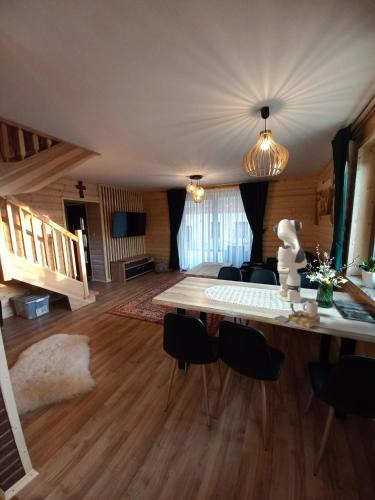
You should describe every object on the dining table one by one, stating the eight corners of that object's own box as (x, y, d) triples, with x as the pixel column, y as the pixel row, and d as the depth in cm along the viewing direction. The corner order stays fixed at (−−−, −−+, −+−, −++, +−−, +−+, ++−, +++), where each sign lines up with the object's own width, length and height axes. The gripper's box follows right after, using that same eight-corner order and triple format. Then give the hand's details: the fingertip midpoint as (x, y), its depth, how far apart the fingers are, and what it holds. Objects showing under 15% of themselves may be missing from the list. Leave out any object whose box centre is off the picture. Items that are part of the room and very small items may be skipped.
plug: (277, 296, 144) (276, 283, 143) (283, 294, 146) (283, 282, 146) (284, 298, 138) (284, 285, 137) (291, 296, 140) (291, 283, 140)
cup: (317, 316, 147) (318, 304, 147) (301, 313, 153) (302, 302, 152) (317, 312, 154) (317, 301, 153) (302, 310, 159) (302, 299, 158)
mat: (274, 318, 146) (274, 317, 145) (281, 315, 150) (281, 315, 150) (284, 322, 139) (284, 321, 139) (291, 319, 143) (291, 319, 143)
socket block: (288, 320, 143) (288, 313, 142) (299, 315, 150) (299, 308, 149) (308, 328, 131) (309, 321, 130) (319, 322, 138) (320, 315, 137)
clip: (297, 315, 138) (297, 311, 137) (292, 315, 139) (293, 310, 138) (293, 307, 152) (293, 303, 152) (289, 306, 153) (289, 303, 152)
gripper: (280, 265, 151) (280, 283, 152) (278, 271, 133) (277, 291, 134) (290, 266, 148) (289, 284, 149) (288, 271, 130) (288, 292, 131)
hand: (283, 287), depth 142 cm, fingers closed on plug, 4 cm apart
